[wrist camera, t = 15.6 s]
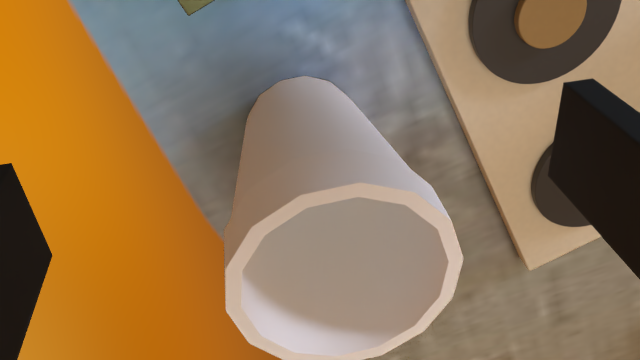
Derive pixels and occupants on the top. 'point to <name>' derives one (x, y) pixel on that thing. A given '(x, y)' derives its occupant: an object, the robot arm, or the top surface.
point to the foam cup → (331, 232)
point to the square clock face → (193, 5)
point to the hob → (528, 96)
